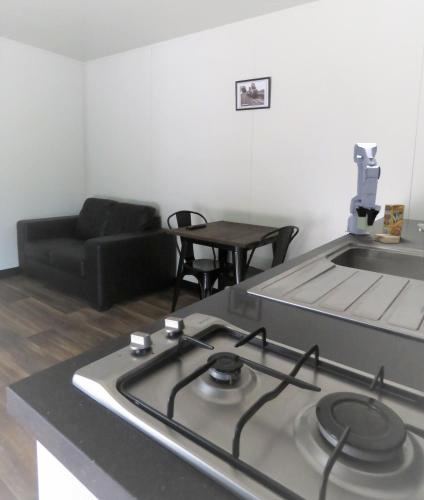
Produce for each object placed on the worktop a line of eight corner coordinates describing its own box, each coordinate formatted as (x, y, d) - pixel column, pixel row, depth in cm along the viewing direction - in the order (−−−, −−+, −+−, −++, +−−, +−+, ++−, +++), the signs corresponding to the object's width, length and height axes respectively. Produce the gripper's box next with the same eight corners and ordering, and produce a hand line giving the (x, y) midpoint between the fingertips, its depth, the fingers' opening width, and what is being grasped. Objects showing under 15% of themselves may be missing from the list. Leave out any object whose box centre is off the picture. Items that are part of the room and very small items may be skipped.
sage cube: (357, 227, 170) (358, 216, 169) (366, 227, 172) (367, 216, 171) (364, 229, 166) (365, 218, 165) (373, 229, 167) (375, 218, 166)
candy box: (388, 238, 173) (393, 205, 170) (381, 236, 177) (384, 204, 174) (401, 237, 177) (405, 204, 174) (393, 235, 181) (397, 203, 178)
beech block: (374, 240, 168) (375, 234, 167) (387, 240, 170) (388, 234, 169) (384, 244, 161) (385, 237, 161) (398, 243, 163) (399, 236, 162)
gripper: (351, 192, 171) (348, 222, 174) (372, 195, 158) (368, 227, 161) (364, 193, 173) (361, 222, 176) (386, 195, 159) (382, 227, 162)
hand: (365, 224), depth 168 cm, fingers closed on sage cube, 5 cm apart
